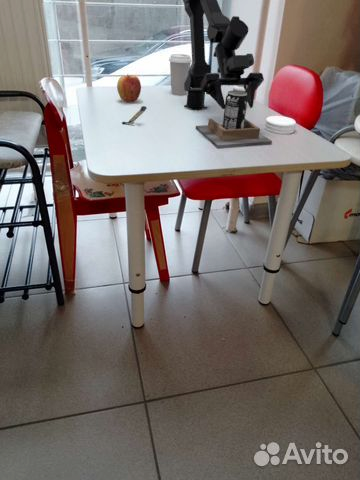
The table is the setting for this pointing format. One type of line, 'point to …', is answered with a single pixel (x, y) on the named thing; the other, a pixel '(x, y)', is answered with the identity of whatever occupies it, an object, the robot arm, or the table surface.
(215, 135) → the loading bay
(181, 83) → the coffee cup
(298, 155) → the table surface
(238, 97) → the beverage can
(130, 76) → the apple
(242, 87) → the supplement bottle
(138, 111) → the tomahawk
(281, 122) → the white ridged disc
